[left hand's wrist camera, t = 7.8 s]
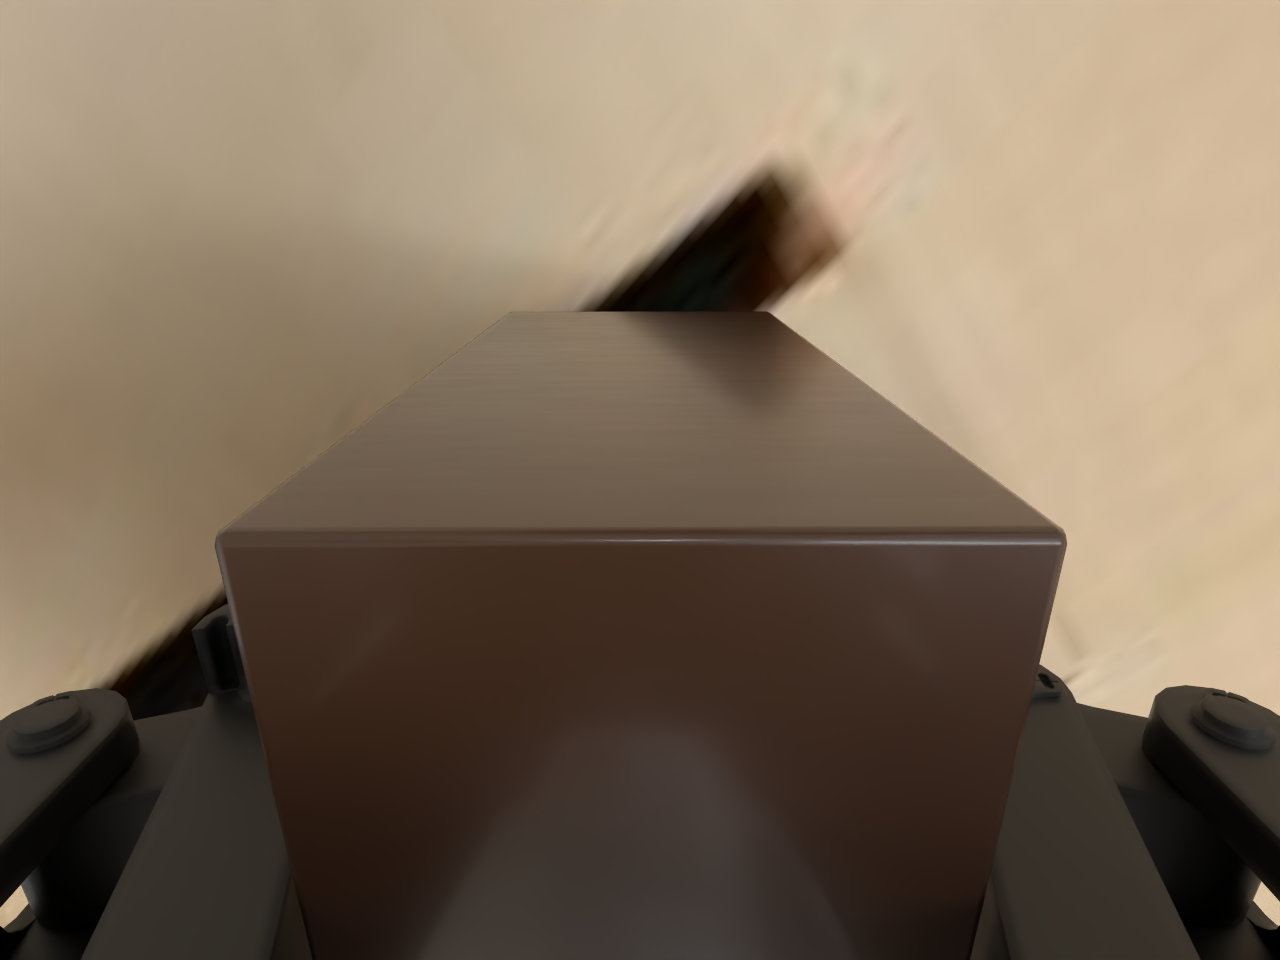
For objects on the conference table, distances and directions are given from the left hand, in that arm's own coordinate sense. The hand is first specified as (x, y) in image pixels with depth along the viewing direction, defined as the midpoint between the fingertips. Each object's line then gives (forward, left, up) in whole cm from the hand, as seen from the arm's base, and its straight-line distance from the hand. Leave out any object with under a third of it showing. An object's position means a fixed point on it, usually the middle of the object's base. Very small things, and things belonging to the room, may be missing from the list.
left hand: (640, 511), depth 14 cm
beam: (+10, 0, 0) cm, 10 cm away
